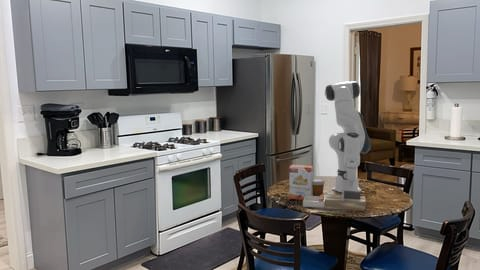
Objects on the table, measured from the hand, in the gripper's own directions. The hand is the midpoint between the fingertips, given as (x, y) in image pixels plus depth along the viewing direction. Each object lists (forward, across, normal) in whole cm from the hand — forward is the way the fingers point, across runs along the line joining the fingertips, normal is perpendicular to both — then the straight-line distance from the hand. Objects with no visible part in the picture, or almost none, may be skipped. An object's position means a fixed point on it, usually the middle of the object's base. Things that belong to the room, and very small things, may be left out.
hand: (350, 184), depth 231 cm
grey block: (+8, +1, 0) cm, 8 cm away
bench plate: (+13, +1, -3) cm, 13 cm away
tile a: (+10, -2, -15) cm, 18 cm away
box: (+13, +1, -20) cm, 24 cm away
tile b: (+10, +4, -15) cm, 19 cm away
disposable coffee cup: (+14, -11, -20) cm, 27 cm away
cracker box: (+14, -9, -29) cm, 33 cm away
